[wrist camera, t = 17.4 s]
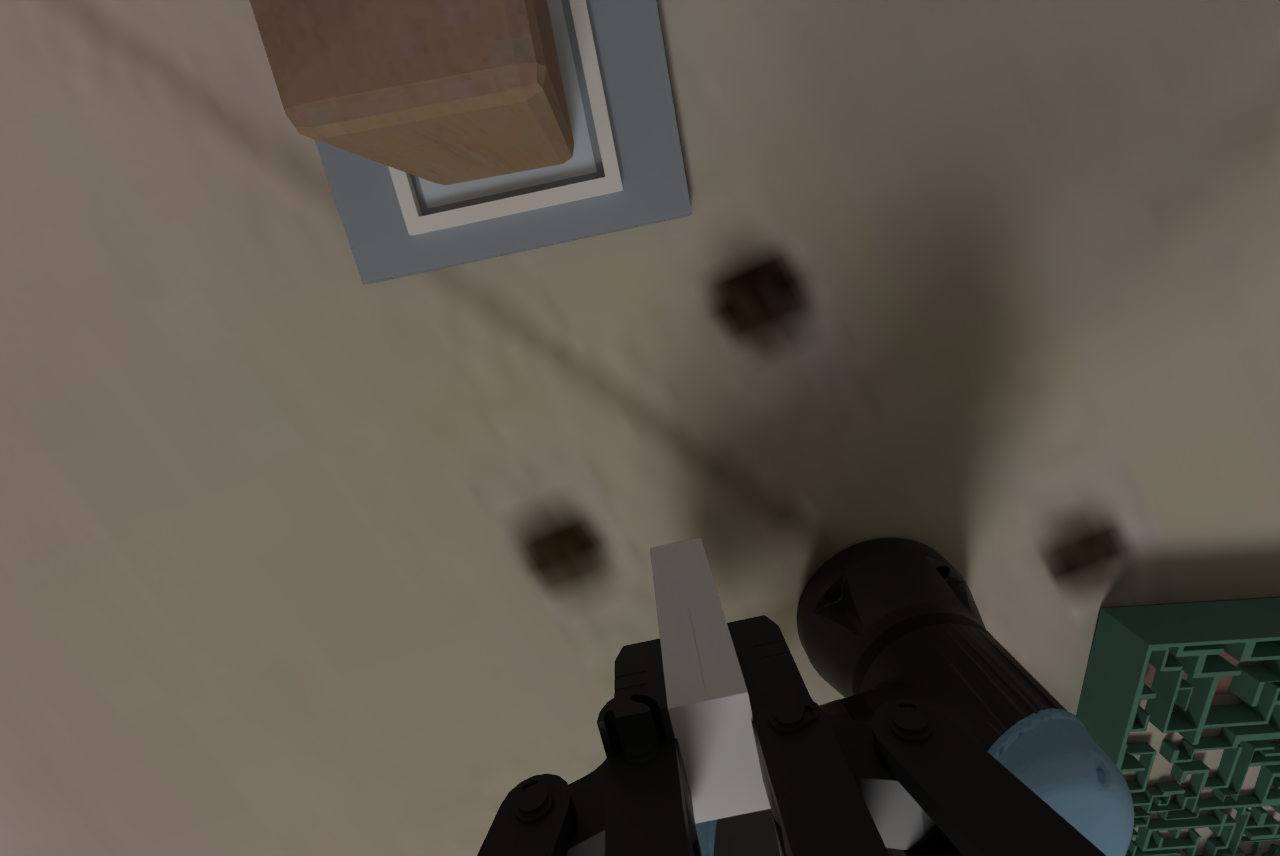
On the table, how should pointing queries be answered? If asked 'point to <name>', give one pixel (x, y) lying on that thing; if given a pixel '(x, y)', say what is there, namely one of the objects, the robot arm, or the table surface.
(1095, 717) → the maze
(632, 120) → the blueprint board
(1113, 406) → the table surface
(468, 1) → the wooden block
